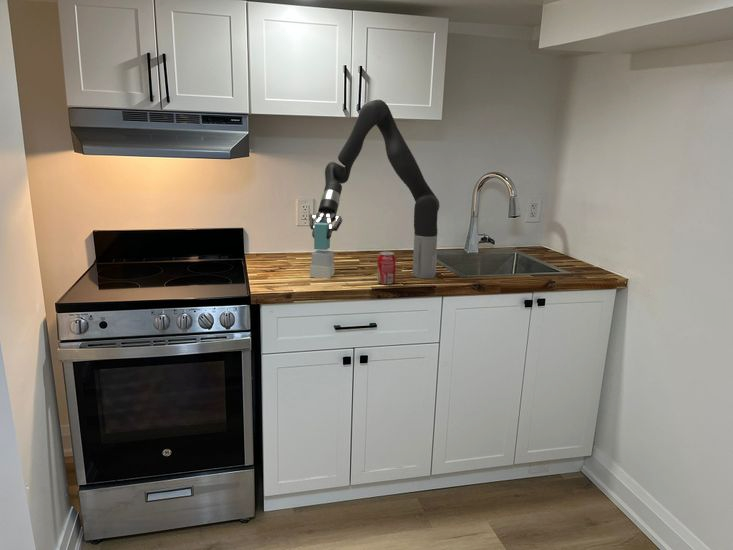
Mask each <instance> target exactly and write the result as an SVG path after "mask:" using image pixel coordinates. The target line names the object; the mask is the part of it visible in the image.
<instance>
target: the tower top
mask: <svg viewBox="0 0 733 550" xmlns="http://www.w3.org/2000/svg"><path fill="white" fill-rule="evenodd" d="M333 263H335V251H334V250H333V251H332V250H320V249H316V250H315V251H313V252H311V265H312V266H321V267H329V266H330V265H332V264H333Z"/></svg>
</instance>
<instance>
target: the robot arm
mask: <svg viewBox="0 0 733 550" xmlns="http://www.w3.org/2000/svg"><path fill="white" fill-rule="evenodd" d="M374 126H376V127H377V128H378V129H379V131H380V134H381V135H382V137H383V142H384V145H385V151H386V156H387V159H388V162H389V164H390V165H391V167H392V169H393V171H394V172H395V173H396V175H397V176H398V177H399V179H400V180H401V181H402V182H403V184H405V185H406V187H407V188H408V190H409V191H410V193H411V195H412V197H413V199H414V202H415V203H414V208H413V209H414V210H413V211H414V212H413V231H414V234H413V235H414V237H413V257H412V258H413V259H412V276H413V277H415V278H418V279H435V278H436V275H437V260H438V259H437V257H438V254H437V247H438V246H437V245H438V212H439V210H440V201H439V199H438V197H437V196H436V195H435V193H434V192H433V190H432V189H431V187H430V185H429V184H428V183H427V181H426V180H425V177H424V175H423V174H422V171H421V168H420V167H419V164H418V163H417V160H416V158H415V157H414V155H413V153H412V151H411V150H410V148H409V146H408V145H407V142H406V140H405V139H404V137H403V135H402V133H401V132H400V130H399V128H398V126H397V124H396V121H395V120H394V116H393V114H392V111H391V109H390V108H389V106H388V104H387V103H386V101H383V100H382V99H375V100H370V101H367V102H364V104H363V105H362V106H361V108H360V111H359V113H358V116H357V119H356V121H355V124H354V126H353V128H352V130H351V132H350V135H349V136H348V138H347V140H346V142H345V144H344V146H343V147H342V148H341V150H340V152H339V153H338V155H337V156H338V157H337V159H338V161H339V163H341V164H342V165H341V164H339V163H337V162H334V161H330V162H328V163H327V165H326V167H325V169H324V180H325V186H324V189H323V193H322V195H321V197H320V198H321V199H320V203H319V206H318V210H317V213H315V215H314V214H309V215H308V217H309V218H308V221H309V222H308V223H309V228H310V230H311V231H312V232H311V236H312V238H313V239H314V224H316V223H320V222H322V223H329V229H328V231H327V235H326V238H327V239H329V238H330V239H331V238H332V233H333V232H337V231H338V230H339V228H340V226H341V225H342V223H343V218H342V216H341V215H339V216H338V215H337V213H338V209H339V205H340V201H341V200H340V199H341V194H342V191H343V190H342V189H343V184H345V183H347V182H348V181H349V178H350V176H351V175H350V174H351V171H352V168H353V165H354V163H355V161H356V160H357V158H358V157H359V155H360V154H361V151H362V149H363V144H364V141H365V139H366V137H367V135H368V134H369V133H370V131H371V130H372V129H373V128H374ZM314 222H315V223H314ZM333 223H334V224H333Z"/></svg>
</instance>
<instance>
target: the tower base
mask: <svg viewBox="0 0 733 550" xmlns="http://www.w3.org/2000/svg"><path fill="white" fill-rule="evenodd" d="M335 265H336V264H335V262H334V263H333V264H332V265H330V266H329V267H321V266H312V264H311V265H309V278H310V277H314V278H313V279H321V278H327V279H326V280H330V279H331V278H332V277H333V276H334V275H335ZM331 276H332V277H331ZM330 277H331V278H330ZM329 278H330V279H329Z"/></svg>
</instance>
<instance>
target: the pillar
mask: <svg viewBox="0 0 733 550" xmlns="http://www.w3.org/2000/svg"><path fill="white" fill-rule="evenodd" d="M315 223H316V222H315ZM315 223H314V238H313V241H314V242H313V244H314V245H313V248H314V250H324V251H328V249H331V248H330V247H331V237H330V238H329V239H327V238H326V235H327V231H328V229H329V223H322V222H320V223H316V224H315Z"/></svg>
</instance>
